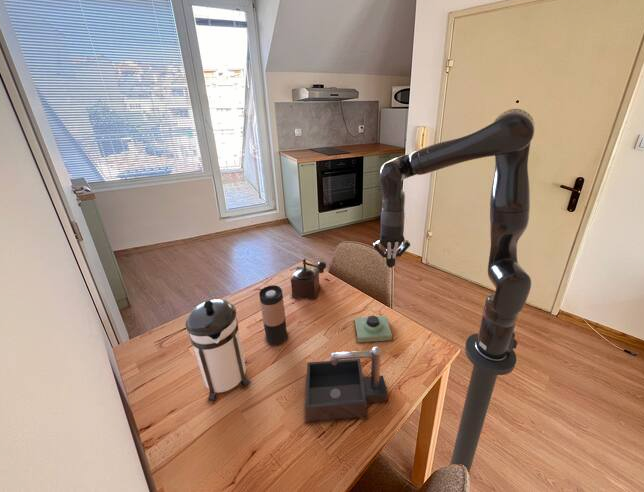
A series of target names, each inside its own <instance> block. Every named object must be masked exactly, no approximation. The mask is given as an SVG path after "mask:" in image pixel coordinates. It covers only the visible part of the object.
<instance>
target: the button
mask: <svg viewBox="0 0 644 492" xmlns="http://www.w3.org/2000/svg"><path fill="white" fill-rule="evenodd" d="M376 316H377V315H369V317H368V316H367V317H368V322H367V323H368V325H369V326H370V327H376V326H378V323H379V319H378V318H377V317H376Z"/></svg>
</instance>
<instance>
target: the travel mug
mask: <svg viewBox="0 0 644 492" xmlns="http://www.w3.org/2000/svg"><path fill="white" fill-rule="evenodd" d="M258 295H259V303H260V310H261V316H262V322H263V328H264V332H265V338H266V341H267V343H268V344H270V345H272V346H274V345H275V346H277V345H281V344H282V343H284V342H285V341H286V340H287V338H288V337H287V335H288V333H287V321H286V320H287V319H286V312H285V304H284V296H283V289H282V288H281V287H280V286H279V285H267V286H265V287H263V288H262V289H260V291H259V293H258Z"/></svg>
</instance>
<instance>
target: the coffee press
mask: <svg viewBox="0 0 644 492" xmlns="http://www.w3.org/2000/svg"><path fill="white" fill-rule="evenodd" d="M185 330H186V332H188V334H189V335H188V336H189V339H190V343H191V345H192V346H193V350H194V353H195V358H196V360H197V364H198V367H199V370H200V374H201V377H202V380H203V383H204V386H205V387H206V389H208V390H209V394H208V401H210V402H215V401H216V399H217V395H218V393H225V392H227V391H228V392H229V391H230V390H232V389H234V388H235V387H237V386H238V385H239V384H240V385H242V386H243V387H248V385H249V384H250V380H249V379H248V378H247V377H246V371H247V366H246V365H247V364H246V360H245V356H244V351H243V346H242V345H243V344H242V341H241V336H240V331H239V322H238V318H237V309H236V307H235V305H233V303H231V302H229V301H227V300H225V299H218V298H217V299H216V298H215V299H210V300H206V301H203V302H202V303H200V304H198V305H196V306H195V307H194V308H193V309H192V310H191V311H190V312H189V314H188V316H187V318H186V320H185Z"/></svg>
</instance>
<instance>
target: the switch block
mask: <svg viewBox="0 0 644 492" xmlns="http://www.w3.org/2000/svg"><path fill="white" fill-rule="evenodd" d="M369 316H370V315H369ZM369 316H361V317H355V318H354V325H355V330H356V335H357V336H356V338H357V342H358V343H369V342H383V341H385V342H386V341H392V340H393V334H392V331H391V327H390V323H389V321H388V318H387V315H375V316H376V317H377V318H378V319H379V323H378V326H376V327H370V326H369V325H368V323H367V322H368V317H369Z"/></svg>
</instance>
